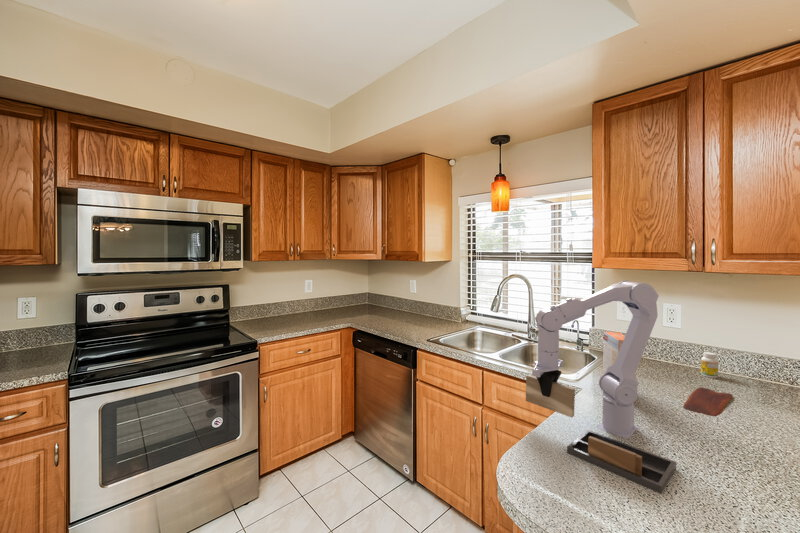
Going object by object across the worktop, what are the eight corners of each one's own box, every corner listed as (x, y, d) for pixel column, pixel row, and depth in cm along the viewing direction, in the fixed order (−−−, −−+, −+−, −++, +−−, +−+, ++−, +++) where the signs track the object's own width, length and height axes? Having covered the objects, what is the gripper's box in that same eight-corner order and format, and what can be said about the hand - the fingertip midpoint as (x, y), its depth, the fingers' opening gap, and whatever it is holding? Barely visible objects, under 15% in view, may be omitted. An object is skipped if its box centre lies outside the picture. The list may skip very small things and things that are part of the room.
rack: (587, 437, 98) (587, 429, 98) (675, 471, 83) (676, 462, 83) (566, 455, 90) (567, 446, 89) (661, 496, 74) (661, 486, 74)
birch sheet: (528, 399, 108) (528, 374, 108) (574, 415, 98) (574, 388, 97) (525, 400, 108) (526, 375, 107) (571, 417, 97) (572, 389, 96)
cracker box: (635, 398, 123) (636, 340, 122) (616, 397, 124) (617, 339, 124) (618, 383, 137) (619, 331, 136) (601, 382, 138) (602, 330, 137)
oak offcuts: (592, 453, 89) (593, 432, 89) (643, 474, 81) (643, 451, 80) (587, 458, 87) (587, 437, 87) (638, 480, 79) (639, 457, 78)
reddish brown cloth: (697, 389, 133) (697, 385, 133) (733, 397, 125) (733, 393, 125) (677, 409, 116) (677, 404, 116) (717, 420, 108) (717, 414, 108)
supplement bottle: (719, 379, 141) (720, 355, 141) (702, 376, 144) (703, 354, 143) (715, 374, 146) (716, 352, 145) (699, 372, 148) (699, 350, 148)
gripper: (546, 342, 110) (546, 384, 111) (522, 351, 101) (522, 397, 101) (569, 347, 105) (568, 391, 105) (546, 357, 95) (545, 405, 96)
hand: (547, 394), depth 103 cm, fingers closed on birch sheet, 1 cm apart
